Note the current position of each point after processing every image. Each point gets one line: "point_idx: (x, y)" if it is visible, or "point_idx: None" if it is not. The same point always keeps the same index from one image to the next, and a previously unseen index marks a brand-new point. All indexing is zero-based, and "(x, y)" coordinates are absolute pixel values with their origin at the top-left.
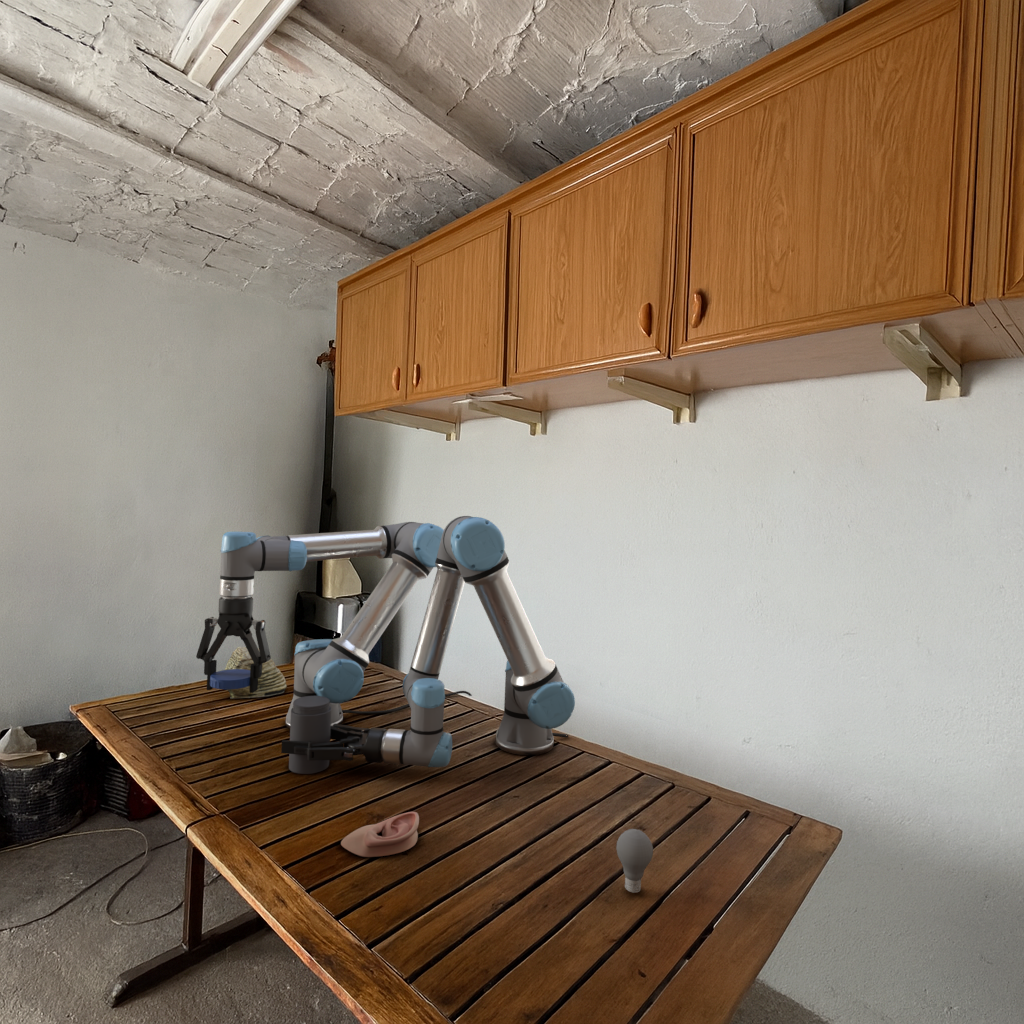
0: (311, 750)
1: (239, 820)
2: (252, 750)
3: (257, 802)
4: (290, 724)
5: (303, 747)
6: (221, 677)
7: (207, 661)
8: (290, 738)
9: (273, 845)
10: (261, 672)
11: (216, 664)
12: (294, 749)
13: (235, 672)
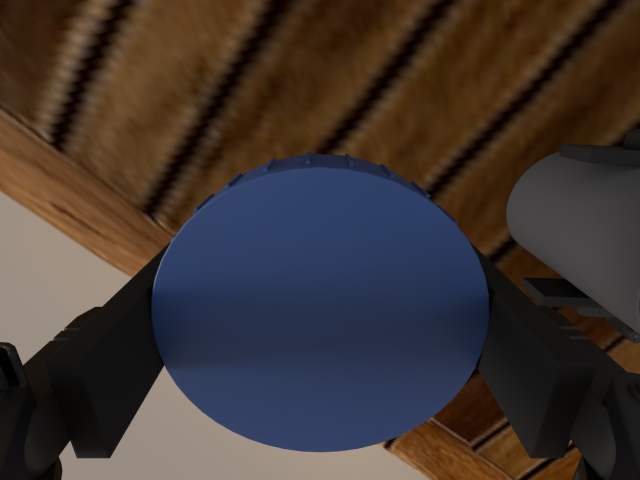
0: (638, 341)
1: (462, 429)
2: (364, 119)
3: (476, 377)
4: (593, 286)
5: (608, 313)
6: (279, 409)
7: (60, 463)
8: (563, 272)
9: (537, 476)
10: (573, 335)
11: (110, 332)
12: (575, 310)
13: (312, 281)
